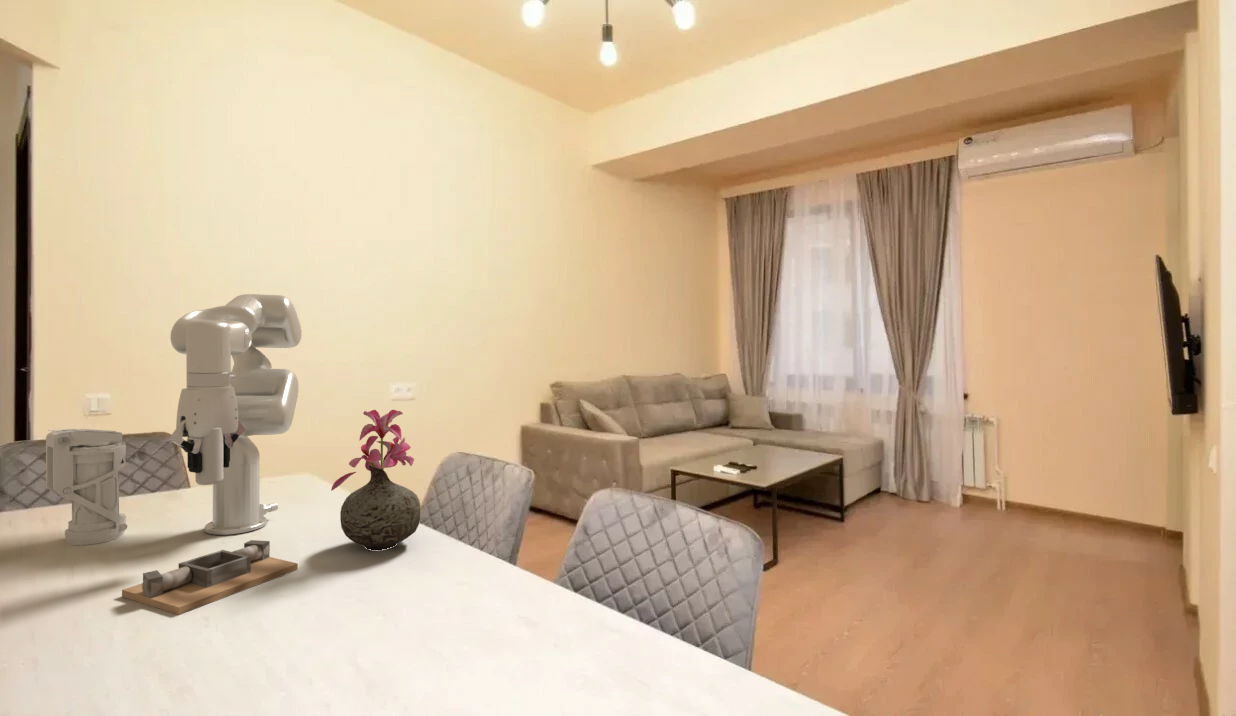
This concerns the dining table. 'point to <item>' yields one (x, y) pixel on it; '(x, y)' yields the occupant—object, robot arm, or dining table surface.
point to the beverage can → (211, 458)
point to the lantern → (88, 481)
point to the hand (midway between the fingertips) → (209, 468)
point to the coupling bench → (209, 578)
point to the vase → (380, 492)
